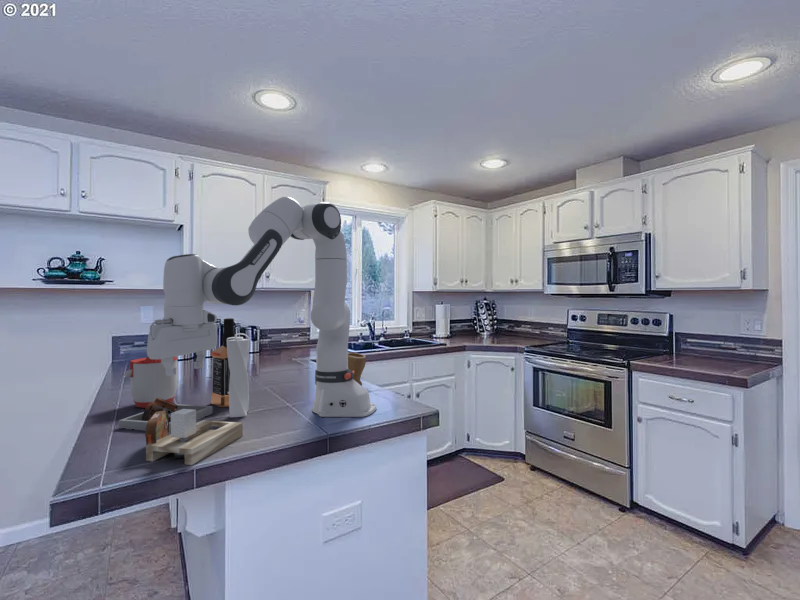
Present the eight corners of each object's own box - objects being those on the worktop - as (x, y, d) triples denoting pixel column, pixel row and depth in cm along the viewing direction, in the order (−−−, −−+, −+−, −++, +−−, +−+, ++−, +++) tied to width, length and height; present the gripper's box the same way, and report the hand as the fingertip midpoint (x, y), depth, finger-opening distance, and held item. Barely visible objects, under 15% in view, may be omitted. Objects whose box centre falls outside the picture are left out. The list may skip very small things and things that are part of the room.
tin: (157, 456, 98) (157, 423, 98) (142, 458, 97) (143, 424, 97) (170, 435, 112) (170, 406, 112) (157, 436, 111) (157, 407, 111)
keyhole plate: (242, 435, 113) (242, 422, 113) (191, 465, 94) (191, 449, 93) (203, 432, 116) (203, 420, 116) (146, 460, 96) (145, 445, 96)
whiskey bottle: (236, 397, 156) (235, 317, 156) (249, 402, 150) (248, 318, 149) (210, 403, 148) (208, 318, 148) (222, 408, 142) (220, 319, 142)
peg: (197, 451, 102) (197, 409, 102) (185, 458, 97) (184, 414, 97) (183, 450, 103) (182, 408, 102) (170, 457, 98) (169, 413, 98)
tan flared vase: (368, 389, 169) (368, 354, 168) (340, 391, 165) (340, 355, 165) (362, 382, 183) (362, 350, 183) (336, 383, 180) (336, 351, 180)
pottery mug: (142, 420, 130) (156, 396, 133) (170, 430, 132) (183, 406, 135) (132, 421, 119) (148, 395, 122) (163, 432, 121) (178, 406, 124)
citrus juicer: (121, 404, 147) (120, 351, 147) (174, 396, 158) (173, 347, 158) (126, 414, 135) (125, 356, 135) (183, 404, 147) (182, 351, 146)
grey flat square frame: (212, 413, 135) (212, 406, 135) (169, 432, 117) (168, 423, 117) (167, 410, 139) (167, 403, 139) (119, 428, 120) (118, 420, 120)
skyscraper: (249, 417, 131) (248, 333, 130) (225, 419, 129) (224, 333, 128) (252, 410, 138) (251, 331, 138) (229, 412, 136) (228, 331, 136)
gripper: (162, 320, 89) (163, 380, 89) (220, 315, 109) (222, 365, 109) (138, 320, 90) (140, 380, 91) (201, 315, 110) (202, 364, 111)
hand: (185, 371), depth 100 cm, fingers open, 8 cm apart
